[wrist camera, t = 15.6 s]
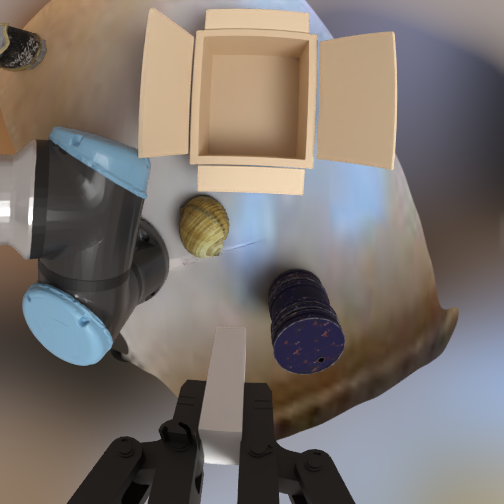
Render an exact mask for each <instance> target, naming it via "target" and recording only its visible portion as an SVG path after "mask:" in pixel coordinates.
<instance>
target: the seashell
mask: <svg viewBox="0 0 504 504" xmlns="http://www.w3.org/2000/svg"><path fill="white" fill-rule="evenodd" d="M180 208H181V209H180V211H181V221H180V229H179V231H180V238H181V241H182V243H183V245H184V247H185V249H186V250H187V251H188V252H189V253H191V254H192V255H194V256H196V257H198V258H207V257H213V256H219V254H220V252H221V250H222V248H223V246H224V240H225V239H226V238H227V235H228V232H229V219H228V216H227V213H226V212H225V209H224V208H223V206H221V204H220V203H218V201H216V200H215V199H212V198H211V197H209V196H197V197H194V198H193V199H191V200H190V201H189V202H188V203H187V204H186V205H185V206H184V207H180Z"/></svg>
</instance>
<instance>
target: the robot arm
mask: <svg viewBox="0 0 504 504" xmlns="http://www.w3.org/2000/svg"><path fill="white" fill-rule="evenodd" d="M48 138H49V140H31V141H30V142H29V143H28V144H27V145H25V146H24V147H23V148H22V149H21V150H20V151H19V152H18V153H16V154H13V155H0V245H10V246H12V247H14V248H15V249H16V250H17V252H19V254H21V256H22V257H24V259H36V258H38V280H37V283H35V284H33V285H31V286H29V289H28V291H27V292H26V294H25V295H24V298H23V303H22V304H23V313H24V316H25V319H26V322H27V324H28V326H29V328H30V329H31V331H32V333H33V334H34V335H35V337H36V338H37V339H38V340H39V341H40V342H41V343H42V345H43V346H44V347H45V348H47V349H48V350H49V351H50V352H51V353H53V354H54V355H56V356H57V357H59V358H61V359H63V360H65V361H67V362H70V363H72V364H76V365H83V366H85V365H89V364H95V363H97V362H98V361H99V360H100V359H101V358H102V357H103V356H104V355H105V353H106V352H107V351H108V350H110V349H111V347H112V344H113V342H114V340H115V338H116V337H117V335H118V334H119V332H120V330H121V329H122V327H123V326H124V324H125V323H126V321H127V319H128V318H129V316H130V315H131V313H132V312H133V310H134V309H135V307H136V306H137V305H139V304H141V303H143V302H145V301H147V300H149V299H151V298H152V297H153V296H155V295H156V294H157V293H158V291H159V290H160V289H161V287H162V286H163V284H164V282H165V280H166V278H167V275H168V271H169V256H168V252H167V248H166V246H165V244H164V242H163V240H162V238H161V237H160V235H159V234H158V233H157V232H156V230H155V229H154V228H153V227H151V226H150V225H149V224H148V223H146V222H144V221H143V220H141V219H140V218H141V213H142V209H143V204H144V200H145V199H146V198H147V193H146V189H147V184H148V179H149V174H150V169H151V165H150V161H149V158H148V157H147V158H138V149H136V148H133V147H131V146H128V145H125V144H123V143H120V142H117V141H114V140H111V139H108V138H105V137H101V136H98V135H95V134H91V133H88V132H84V131H80V130H76V129H72V128H65V127H62V126H56V127H54V128H53V129H52V131H51V133H50V134H49V137H48ZM245 352H246V327H227V326H217V329H216V334H215V340H214V345H213V350H212V355H211V361H210V366H209V372H208V377H207V381H198V380H187V381H186V382H185V383H184V384H183V386H182V387H181V390H180V394H179V397H178V401H177V405H176V409H175V413H174V416H173V419H172V420H169V421H166V422H165V423H163V424H162V425H161V426H160V429H159V433H160V436H161V439H160V440H158V441H153V442H143V443H139V441H137V440H136V439H134V438H132V437H128V436H127V437H120V438H117V439H115V440H114V441H113V442H112V443H111V444H110V446H109V447H108V448H107V450H106V451H105V452H104V454H103V455H102V457H101V458H100V459H99V461H98V462H97V463H96V465H95V466H94V467H93V469H92V470H91V472H90V473H89V474H88V476H87V477H86V478H85V480H84V481H83V482H82V484H81V485H80V486H79V488H78V489H77V490H76V492H75V493H74V495H73V496H72V497H71V499H70V500H69V501H68V503H67V504H144V503H145V502H146V500H147V498H148V496H149V500H148V504H200V502H201V493H202V485H203V477H204V472H203V463H204V461H205V463H213V464H226V465H239V479H238V502H237V504H279V492H281V493H285V494H288V495H289V498H290V501H291V503H292V504H355V502H354V500H353V499H352V496H351V495H350V493H349V491H348V489H347V487H346V485H345V483H344V481H343V480H342V478H341V476H340V474H339V472H338V470H337V468H336V466H335V464H334V462H333V460H332V459H331V457H330V456H329V455H328V454H327V453H326V452H324V451H322V450H317V449H312V450H307V451H305V452H302V453H297V452H293V451H289V450H286V449H284V448H282V447H281V446H280V445H279V444H278V443H277V442H276V440H275V437H274V424H273V407H272V391H271V390H270V388H269V386H268V385H267V383H244V382H245Z"/></svg>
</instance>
